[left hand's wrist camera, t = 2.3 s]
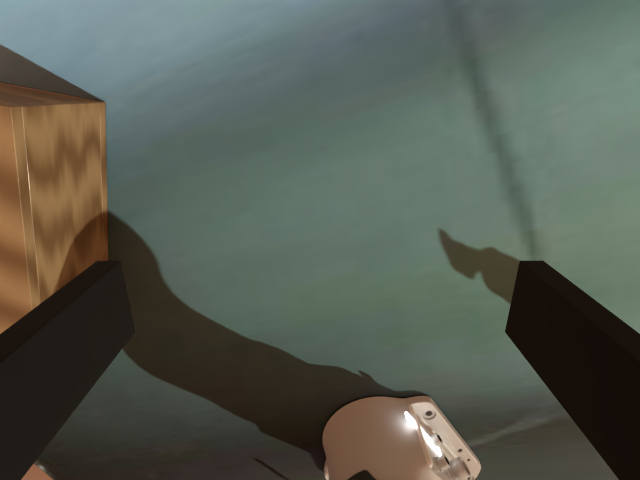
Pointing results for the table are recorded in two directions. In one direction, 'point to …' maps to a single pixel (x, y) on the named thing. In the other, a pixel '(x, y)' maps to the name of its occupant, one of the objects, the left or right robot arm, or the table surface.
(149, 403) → the table surface
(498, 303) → the table surface
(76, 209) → the cabinet
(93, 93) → the table surface
